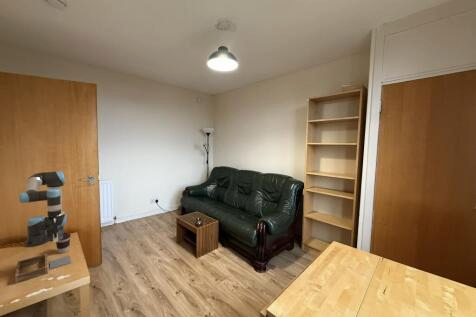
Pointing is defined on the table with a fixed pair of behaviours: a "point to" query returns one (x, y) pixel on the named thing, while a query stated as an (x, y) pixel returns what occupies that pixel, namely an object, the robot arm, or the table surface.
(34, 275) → the shallow wooden tray
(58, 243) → the coffee cup
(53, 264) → the pad
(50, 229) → the box
